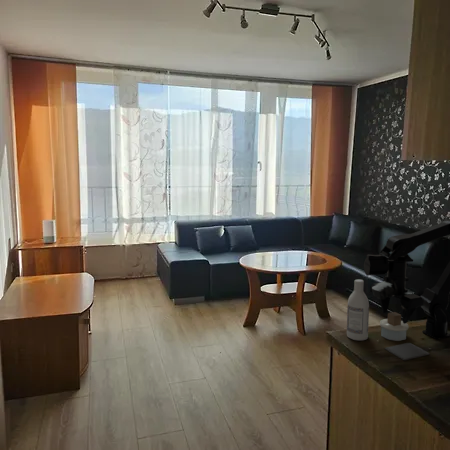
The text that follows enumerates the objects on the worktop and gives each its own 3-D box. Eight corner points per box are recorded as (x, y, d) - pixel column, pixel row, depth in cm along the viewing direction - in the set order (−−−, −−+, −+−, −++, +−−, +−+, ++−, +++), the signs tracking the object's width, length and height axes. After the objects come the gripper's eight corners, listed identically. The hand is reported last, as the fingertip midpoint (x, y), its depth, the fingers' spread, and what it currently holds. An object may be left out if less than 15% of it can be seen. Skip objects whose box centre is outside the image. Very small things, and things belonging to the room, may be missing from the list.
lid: (394, 319, 144) (395, 307, 143) (414, 328, 135) (415, 316, 135) (374, 323, 141) (374, 311, 140) (393, 333, 132) (393, 320, 132)
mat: (409, 343, 132) (409, 342, 132) (429, 354, 125) (429, 353, 125) (384, 349, 129) (384, 347, 129) (403, 360, 121) (403, 358, 121)
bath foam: (357, 331, 143) (359, 276, 140) (372, 338, 137) (374, 281, 134) (342, 335, 140) (343, 279, 137) (356, 342, 134) (358, 284, 131)
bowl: (394, 329, 144) (394, 320, 143) (411, 338, 136) (411, 328, 136) (376, 333, 141) (376, 323, 140) (392, 342, 134) (393, 332, 133)
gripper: (358, 270, 141) (357, 312, 144) (398, 284, 124) (396, 332, 126) (384, 266, 145) (382, 308, 147) (426, 280, 128) (423, 327, 130)
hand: (394, 318), depth 138 cm, fingers open, 9 cm apart
